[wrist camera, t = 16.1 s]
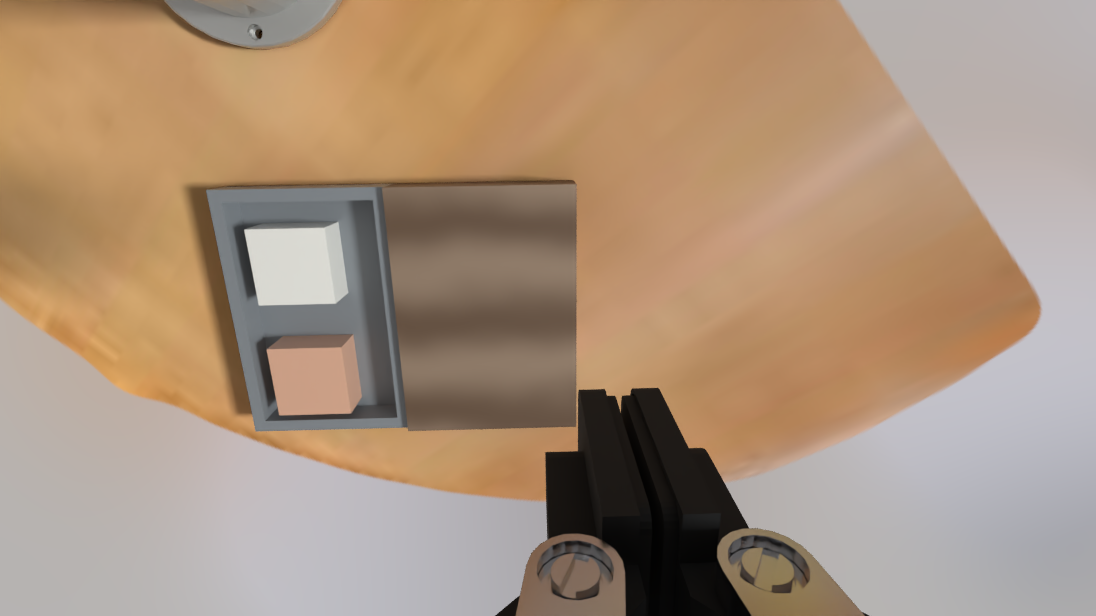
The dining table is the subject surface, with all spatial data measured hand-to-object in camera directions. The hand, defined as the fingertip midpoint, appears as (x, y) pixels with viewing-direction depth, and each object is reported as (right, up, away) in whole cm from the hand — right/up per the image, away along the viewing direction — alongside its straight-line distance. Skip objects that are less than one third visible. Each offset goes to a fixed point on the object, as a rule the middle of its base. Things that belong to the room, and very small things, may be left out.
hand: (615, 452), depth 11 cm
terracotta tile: (-18, -2, +26) cm, 31 cm away
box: (-17, +3, +27) cm, 32 cm away
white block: (-18, +6, +23) cm, 30 cm away
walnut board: (-6, +3, +27) cm, 28 cm away
